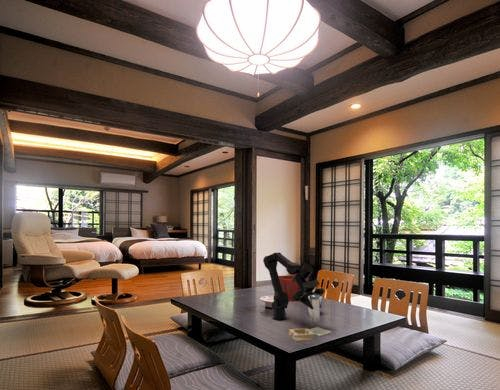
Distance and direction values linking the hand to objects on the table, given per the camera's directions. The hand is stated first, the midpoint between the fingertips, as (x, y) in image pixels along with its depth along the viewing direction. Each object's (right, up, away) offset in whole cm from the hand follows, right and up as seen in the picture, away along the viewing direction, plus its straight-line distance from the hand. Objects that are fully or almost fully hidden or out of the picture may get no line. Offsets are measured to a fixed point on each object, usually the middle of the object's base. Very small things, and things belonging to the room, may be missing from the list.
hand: (316, 308), depth 170 cm
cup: (+6, -17, +37) cm, 41 cm away
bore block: (-9, -13, -6) cm, 17 cm away
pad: (+1, -14, +2) cm, 14 cm away
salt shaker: (-1, -6, +1) cm, 7 cm away
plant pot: (-2, -21, +78) cm, 81 cm away
